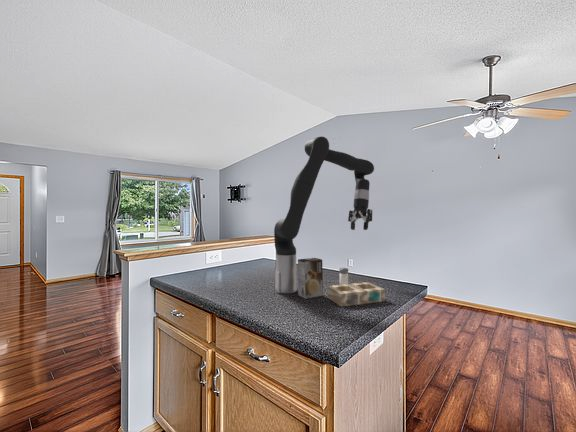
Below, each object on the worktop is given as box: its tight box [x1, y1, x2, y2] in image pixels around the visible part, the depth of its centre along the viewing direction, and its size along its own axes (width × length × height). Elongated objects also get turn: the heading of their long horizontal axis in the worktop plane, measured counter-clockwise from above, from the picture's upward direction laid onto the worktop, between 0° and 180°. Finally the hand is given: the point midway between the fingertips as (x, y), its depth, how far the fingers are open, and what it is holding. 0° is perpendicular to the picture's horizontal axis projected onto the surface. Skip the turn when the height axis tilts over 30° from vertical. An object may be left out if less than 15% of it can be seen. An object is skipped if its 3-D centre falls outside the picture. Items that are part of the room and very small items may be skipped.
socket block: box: [327, 281, 386, 307], centre depth 120 cm, size 20×12×5 cm, turn 107°
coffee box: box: [297, 257, 324, 299], centre depth 126 cm, size 9×6×16 cm
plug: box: [339, 267, 349, 285], centre depth 134 cm, size 4×4×10 cm
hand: (358, 229), depth 149 cm, fingers open, 8 cm apart
